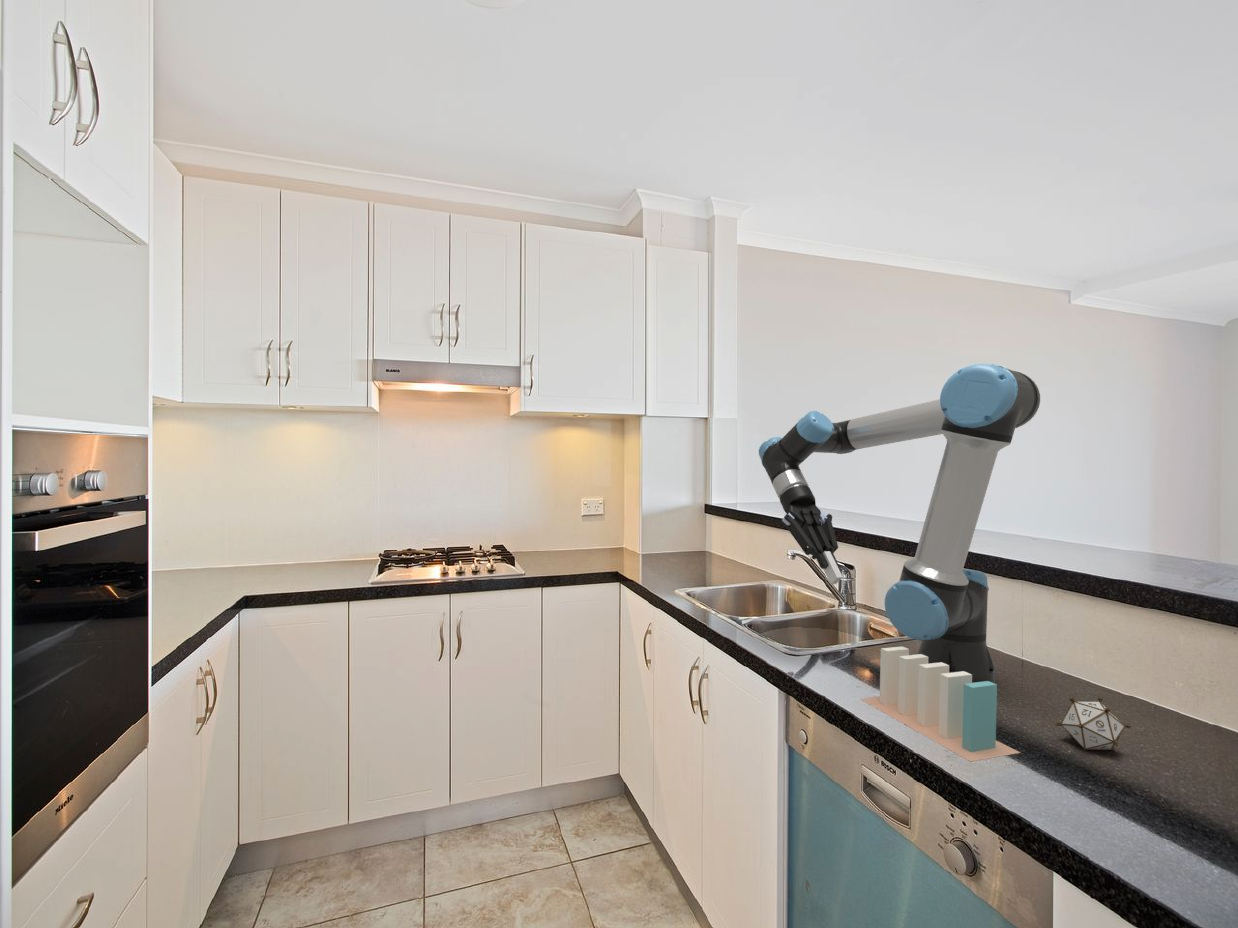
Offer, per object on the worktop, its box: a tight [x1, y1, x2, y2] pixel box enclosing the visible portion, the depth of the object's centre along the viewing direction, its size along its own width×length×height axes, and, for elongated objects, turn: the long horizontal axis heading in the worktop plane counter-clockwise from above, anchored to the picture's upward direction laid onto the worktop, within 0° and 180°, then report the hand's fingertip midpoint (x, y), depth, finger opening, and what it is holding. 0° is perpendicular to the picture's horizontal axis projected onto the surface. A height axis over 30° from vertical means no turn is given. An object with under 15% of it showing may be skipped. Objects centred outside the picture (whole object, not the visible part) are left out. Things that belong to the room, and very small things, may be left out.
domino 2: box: [898, 653, 928, 716], centre depth 106 cm, size 2×5×10 cm, turn 108°
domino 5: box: [962, 681, 998, 752], centre depth 94 cm, size 2×5×10 cm, turn 108°
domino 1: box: [879, 646, 910, 705], centre depth 111 cm, size 2×5×10 cm, turn 108°
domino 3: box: [917, 662, 949, 727], centre depth 102 cm, size 2×5×10 cm, turn 108°
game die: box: [1054, 696, 1133, 753], centre depth 95 cm, size 9×8×10 cm
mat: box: [860, 695, 1021, 763], centre depth 102 cm, size 24×10×1 cm, turn 18°
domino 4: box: [939, 671, 972, 739], centre depth 98 cm, size 2×5×10 cm, turn 108°
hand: (836, 580), depth 127 cm, fingers closed
